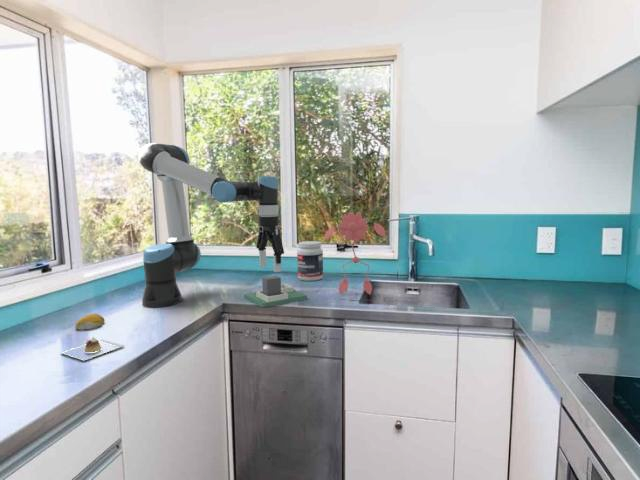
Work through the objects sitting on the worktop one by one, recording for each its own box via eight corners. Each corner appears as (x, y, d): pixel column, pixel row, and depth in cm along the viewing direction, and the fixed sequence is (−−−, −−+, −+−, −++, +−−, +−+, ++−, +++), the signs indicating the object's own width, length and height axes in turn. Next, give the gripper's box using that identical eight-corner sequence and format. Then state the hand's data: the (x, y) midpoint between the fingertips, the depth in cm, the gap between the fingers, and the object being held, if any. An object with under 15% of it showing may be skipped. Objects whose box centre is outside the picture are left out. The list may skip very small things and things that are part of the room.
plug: (267, 299, 162) (267, 279, 161) (262, 296, 166) (262, 277, 165) (282, 296, 166) (282, 277, 165) (277, 294, 170) (277, 275, 169)
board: (262, 307, 157) (262, 298, 157) (244, 297, 172) (244, 289, 172) (307, 298, 168) (307, 290, 167) (286, 290, 183) (286, 282, 183)
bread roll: (106, 321, 146) (105, 310, 145) (99, 329, 137) (98, 317, 137) (81, 323, 144) (80, 312, 143) (72, 331, 135) (71, 320, 135)
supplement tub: (294, 281, 202) (292, 244, 199) (302, 275, 214) (301, 240, 212) (319, 282, 198) (318, 244, 196) (326, 276, 210) (325, 241, 208)
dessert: (60, 356, 116) (58, 340, 115) (101, 342, 126) (99, 327, 125) (84, 364, 110) (82, 347, 109) (125, 349, 120) (123, 333, 119)
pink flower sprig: (328, 290, 181) (326, 211, 176) (387, 292, 175) (386, 210, 170) (319, 300, 167) (317, 214, 162) (383, 303, 160) (382, 213, 155)
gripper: (292, 217, 153) (293, 272, 156) (264, 213, 174) (265, 263, 177) (274, 218, 149) (275, 275, 152) (247, 214, 170) (249, 265, 173)
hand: (270, 268), depth 165 cm, fingers open, 13 cm apart
